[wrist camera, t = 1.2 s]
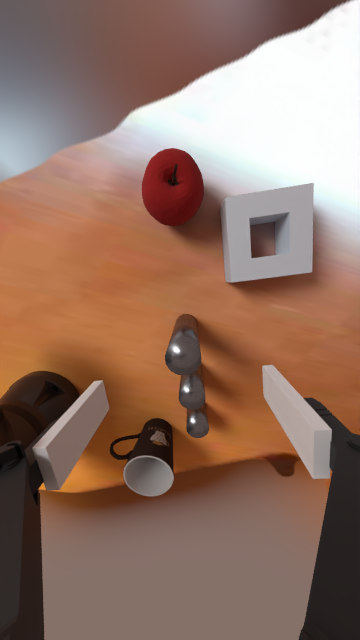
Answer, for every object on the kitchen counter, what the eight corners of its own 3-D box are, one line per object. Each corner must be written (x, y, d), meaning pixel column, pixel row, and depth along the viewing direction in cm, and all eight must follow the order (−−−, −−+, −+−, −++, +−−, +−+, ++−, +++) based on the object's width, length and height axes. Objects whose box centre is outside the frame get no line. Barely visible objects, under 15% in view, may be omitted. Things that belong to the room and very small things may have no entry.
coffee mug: (185, 432, 42) (184, 478, 33) (158, 453, 44) (148, 504, 34) (147, 397, 41) (134, 434, 31) (120, 420, 43) (99, 463, 33)
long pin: (177, 335, 38) (167, 376, 22) (174, 315, 37) (162, 343, 21) (197, 333, 37) (203, 373, 22) (195, 312, 37) (199, 339, 21)
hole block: (225, 281, 35) (231, 282, 30) (220, 209, 33) (225, 197, 28) (294, 272, 34) (312, 272, 29) (294, 197, 32) (313, 182, 27)
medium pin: (183, 377, 40) (180, 410, 30) (180, 359, 39) (177, 387, 29) (202, 375, 39) (206, 408, 30) (200, 357, 38) (203, 384, 29)
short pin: (188, 415, 42) (187, 438, 36) (186, 399, 41) (185, 419, 35) (207, 414, 41) (209, 437, 35) (205, 397, 40) (207, 418, 35)
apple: (149, 169, 32) (130, 122, 22) (204, 171, 32) (210, 124, 22) (147, 230, 34) (130, 211, 24) (199, 232, 34) (203, 214, 24)
